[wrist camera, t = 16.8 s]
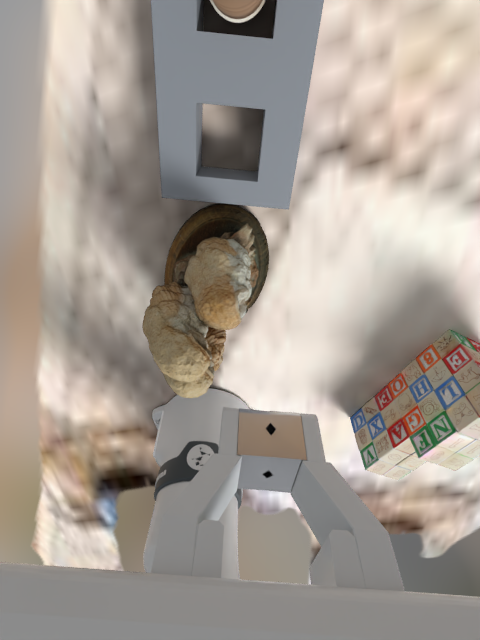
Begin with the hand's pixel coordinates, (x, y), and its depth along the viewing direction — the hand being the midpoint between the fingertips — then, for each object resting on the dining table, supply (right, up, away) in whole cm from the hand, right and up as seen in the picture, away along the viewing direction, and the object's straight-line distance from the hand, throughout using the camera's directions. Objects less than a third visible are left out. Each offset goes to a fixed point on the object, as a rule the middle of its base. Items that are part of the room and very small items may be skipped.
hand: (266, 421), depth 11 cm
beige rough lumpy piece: (-4, +9, +30) cm, 32 cm away
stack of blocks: (+25, -6, +40) cm, 48 cm away
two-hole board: (-1, +25, +18) cm, 31 cm away
